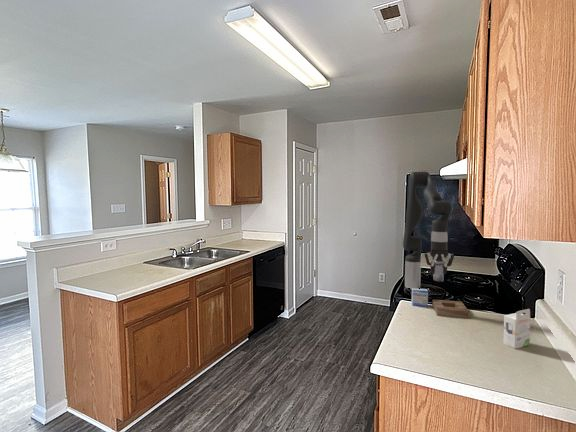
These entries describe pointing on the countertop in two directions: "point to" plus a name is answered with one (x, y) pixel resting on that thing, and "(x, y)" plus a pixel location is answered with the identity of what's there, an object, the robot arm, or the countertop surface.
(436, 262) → the cylinder
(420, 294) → the medicine box
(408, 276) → the robot arm
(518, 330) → the ink box
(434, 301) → the jig
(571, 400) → the countertop surface
